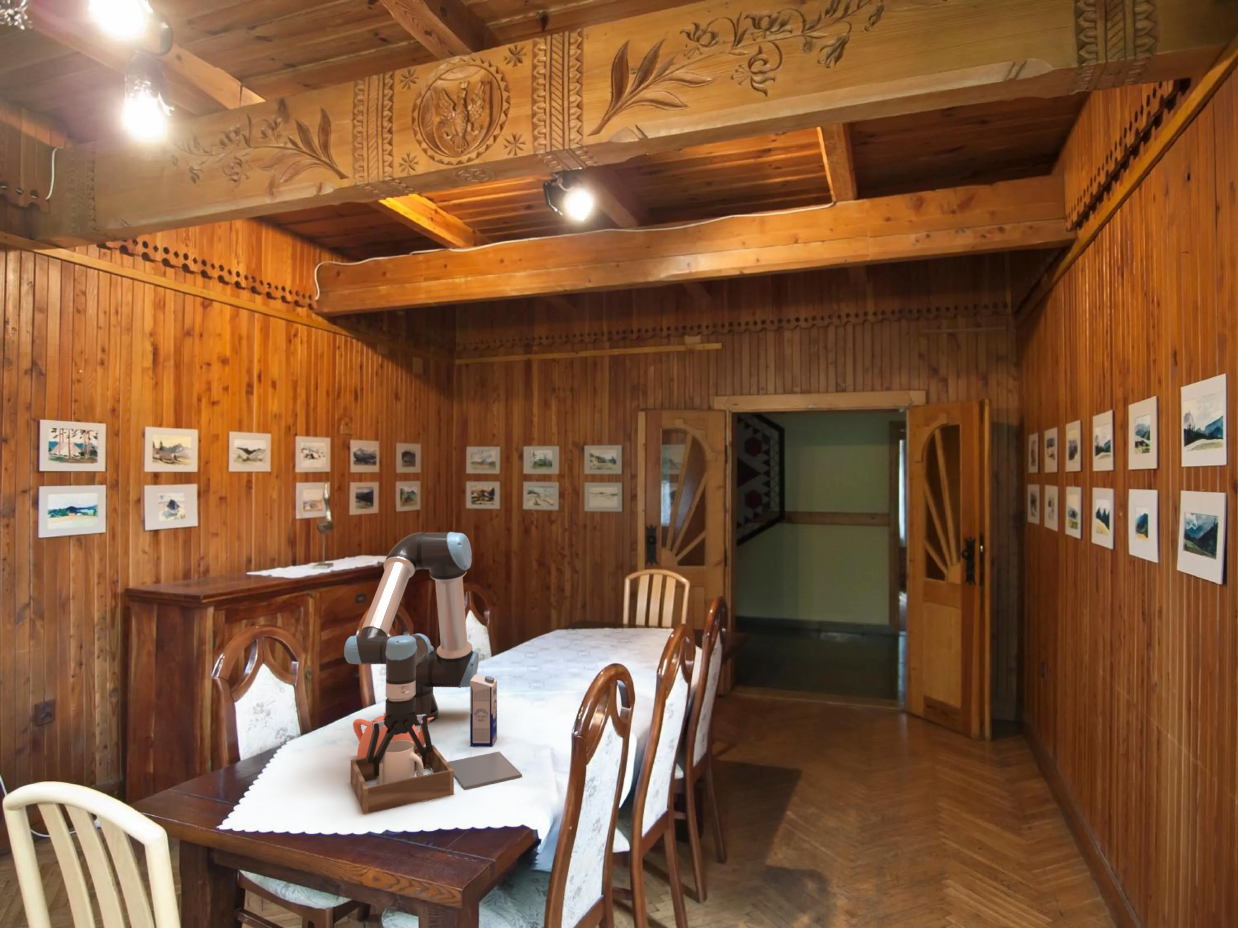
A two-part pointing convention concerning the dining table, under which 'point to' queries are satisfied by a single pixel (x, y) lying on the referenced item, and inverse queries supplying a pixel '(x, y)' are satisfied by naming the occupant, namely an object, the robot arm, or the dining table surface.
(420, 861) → the dining table surface
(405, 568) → the robot arm
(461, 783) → the slate trivet
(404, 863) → the dining table surface
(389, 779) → the mug
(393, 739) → the teapot
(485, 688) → the milk carton
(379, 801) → the walnut caddy
